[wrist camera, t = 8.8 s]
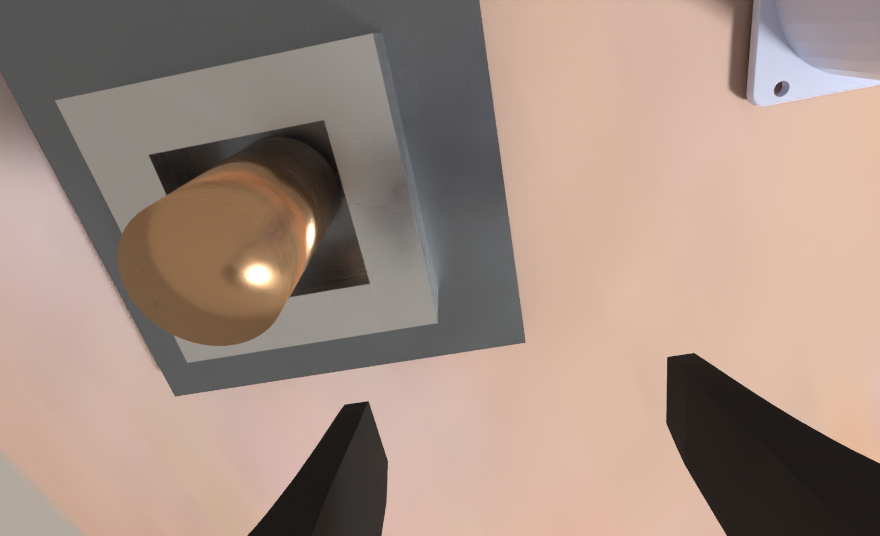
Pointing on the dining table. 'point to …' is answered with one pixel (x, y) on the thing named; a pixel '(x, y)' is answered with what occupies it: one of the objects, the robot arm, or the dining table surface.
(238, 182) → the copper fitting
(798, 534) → the robot arm
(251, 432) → the dining table surface
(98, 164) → the flange socket
